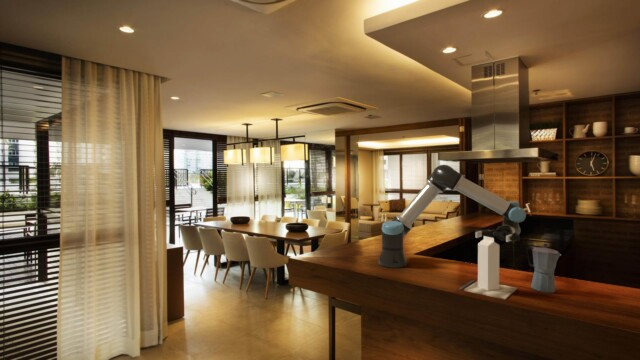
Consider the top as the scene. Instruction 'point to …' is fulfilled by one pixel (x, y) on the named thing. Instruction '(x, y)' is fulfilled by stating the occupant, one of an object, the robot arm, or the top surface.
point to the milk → (488, 264)
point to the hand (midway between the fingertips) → (491, 236)
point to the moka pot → (543, 268)
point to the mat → (500, 293)
